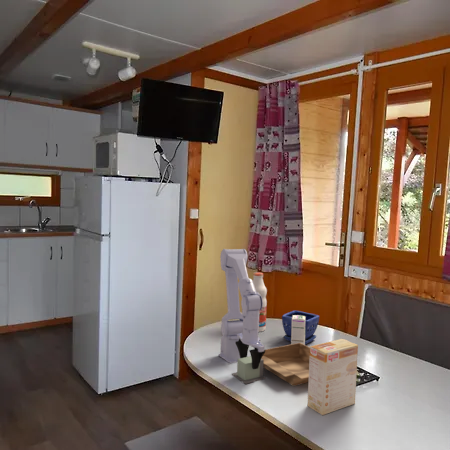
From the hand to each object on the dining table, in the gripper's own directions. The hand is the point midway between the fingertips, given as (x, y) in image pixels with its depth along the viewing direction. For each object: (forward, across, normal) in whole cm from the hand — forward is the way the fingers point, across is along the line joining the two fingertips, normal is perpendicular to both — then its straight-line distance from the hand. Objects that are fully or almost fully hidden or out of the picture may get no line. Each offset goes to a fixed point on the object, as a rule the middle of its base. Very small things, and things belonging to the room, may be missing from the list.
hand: (249, 364), depth 152 cm
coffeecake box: (+5, -29, -12) cm, 32 cm away
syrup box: (+5, +13, -34) cm, 37 cm away
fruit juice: (+5, +44, -34) cm, 56 cm away
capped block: (+4, 0, 0) cm, 4 cm away
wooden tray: (+4, -6, -17) cm, 19 cm away
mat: (+4, 0, 0) cm, 5 cm away
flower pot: (+5, +22, -43) cm, 49 cm away
